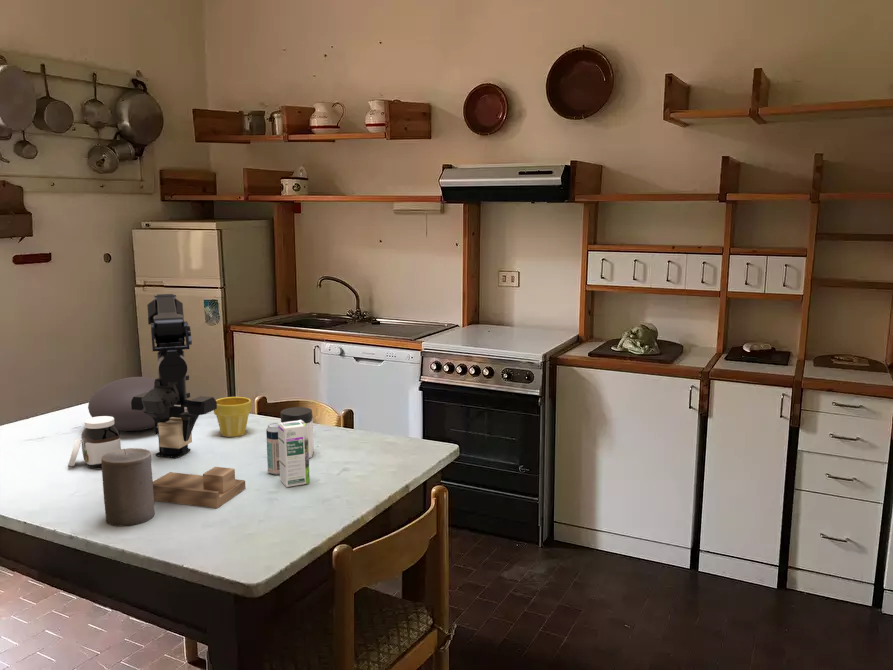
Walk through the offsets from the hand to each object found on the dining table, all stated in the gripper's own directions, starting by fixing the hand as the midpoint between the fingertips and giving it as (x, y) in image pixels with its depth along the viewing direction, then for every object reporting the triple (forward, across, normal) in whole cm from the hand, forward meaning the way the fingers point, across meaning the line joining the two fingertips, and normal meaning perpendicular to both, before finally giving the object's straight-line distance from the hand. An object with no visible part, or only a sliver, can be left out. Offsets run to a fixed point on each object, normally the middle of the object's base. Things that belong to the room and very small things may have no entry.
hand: (175, 440), depth 172 cm
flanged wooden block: (+1, 0, 0) cm, 1 cm away
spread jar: (+12, -31, +10) cm, 35 cm away
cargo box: (+10, +11, 0) cm, 15 cm away
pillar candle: (+13, -1, -15) cm, 20 cm away
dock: (+12, +4, 0) cm, 13 cm away
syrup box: (+12, +23, +13) cm, 29 cm away
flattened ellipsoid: (+12, -41, +40) cm, 59 cm away
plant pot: (+12, -11, +43) cm, 46 cm away
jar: (+12, +15, +31) cm, 36 cm away
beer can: (+12, +16, +18) cm, 27 cm away
